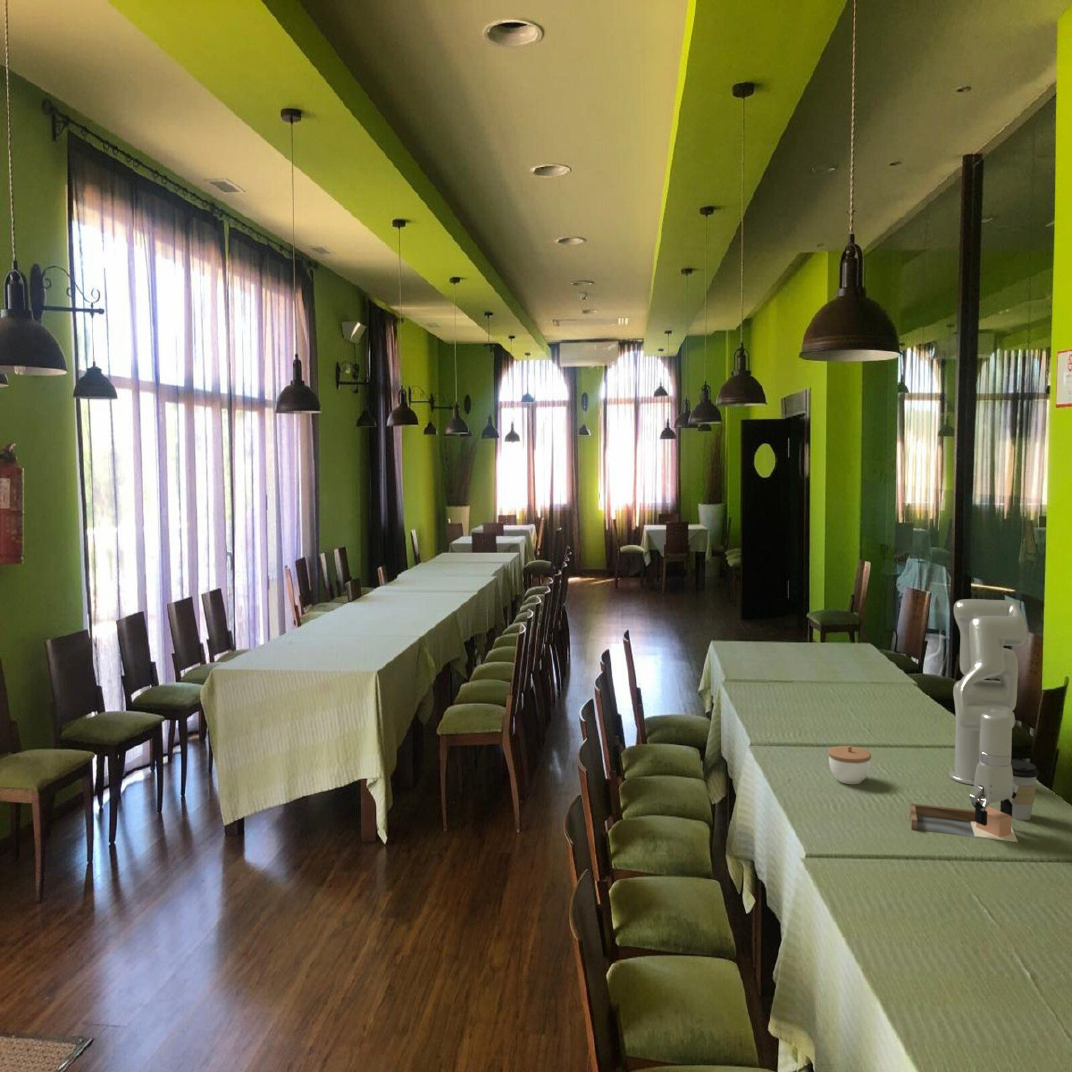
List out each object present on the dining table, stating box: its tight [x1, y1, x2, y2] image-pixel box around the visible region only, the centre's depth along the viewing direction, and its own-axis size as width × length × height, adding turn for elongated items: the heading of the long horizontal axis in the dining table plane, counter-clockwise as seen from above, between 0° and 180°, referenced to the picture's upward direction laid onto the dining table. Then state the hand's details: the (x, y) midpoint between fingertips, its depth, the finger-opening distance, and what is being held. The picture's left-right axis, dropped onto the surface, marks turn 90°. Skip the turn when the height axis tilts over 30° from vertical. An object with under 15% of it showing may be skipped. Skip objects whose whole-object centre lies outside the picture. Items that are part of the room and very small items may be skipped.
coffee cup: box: [1011, 759, 1040, 821], centre depth 242 cm, size 9×9×15 cm
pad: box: [971, 821, 1018, 843], centre depth 232 cm, size 10×10×1 cm
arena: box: [909, 803, 1019, 843], centre depth 236 cm, size 12×26×3 cm, turn 69°
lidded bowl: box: [828, 745, 872, 785], centre depth 272 cm, size 13×13×11 cm
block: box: [976, 806, 1013, 837], centre depth 232 cm, size 7×4×5 cm, turn 24°
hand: (993, 820), depth 232 cm, fingers open, 9 cm apart
